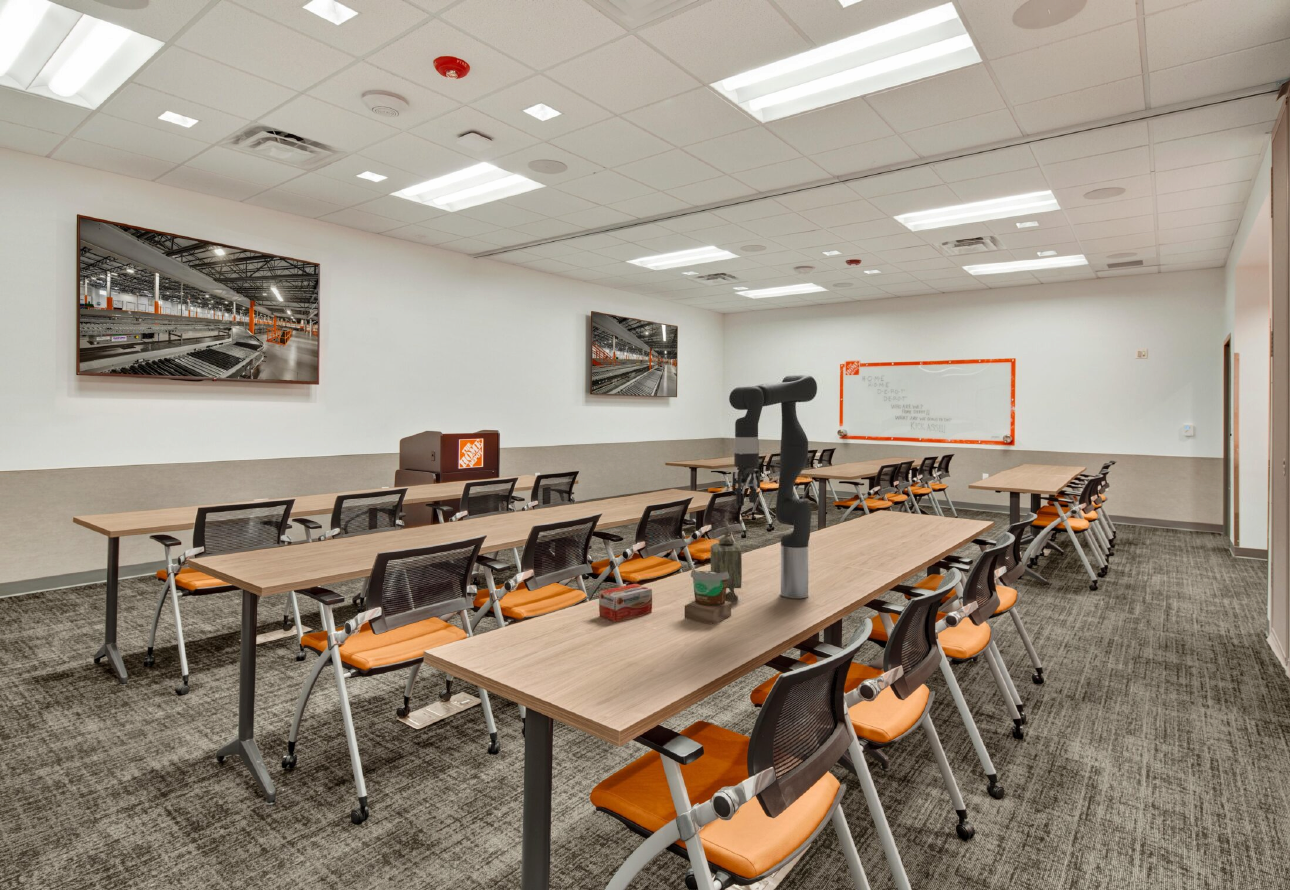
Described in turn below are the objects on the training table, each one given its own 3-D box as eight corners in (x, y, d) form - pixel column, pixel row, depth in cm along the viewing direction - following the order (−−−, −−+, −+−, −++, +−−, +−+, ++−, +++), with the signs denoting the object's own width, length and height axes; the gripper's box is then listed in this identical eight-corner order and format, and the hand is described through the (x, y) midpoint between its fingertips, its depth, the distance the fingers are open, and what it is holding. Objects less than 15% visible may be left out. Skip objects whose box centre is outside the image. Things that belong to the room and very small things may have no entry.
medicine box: (615, 623, 194) (614, 596, 194) (598, 617, 200) (598, 591, 200) (653, 613, 204) (652, 587, 204) (636, 607, 210) (636, 583, 210)
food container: (683, 603, 198) (683, 571, 198) (692, 598, 203) (692, 567, 203) (721, 609, 192) (721, 575, 192) (729, 604, 197) (729, 571, 197)
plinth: (703, 609, 206) (703, 596, 206) (731, 615, 200) (731, 601, 200) (684, 618, 197) (684, 604, 197) (713, 624, 191) (713, 610, 191)
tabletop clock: (741, 601, 215) (741, 526, 214) (714, 602, 215) (714, 526, 214) (736, 590, 230) (736, 520, 229) (710, 590, 230) (710, 520, 229)
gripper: (746, 450, 208) (746, 501, 209) (724, 452, 197) (724, 505, 197) (767, 451, 204) (767, 502, 205) (747, 453, 192) (747, 507, 193)
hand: (746, 504), depth 201 cm, fingers open, 8 cm apart
